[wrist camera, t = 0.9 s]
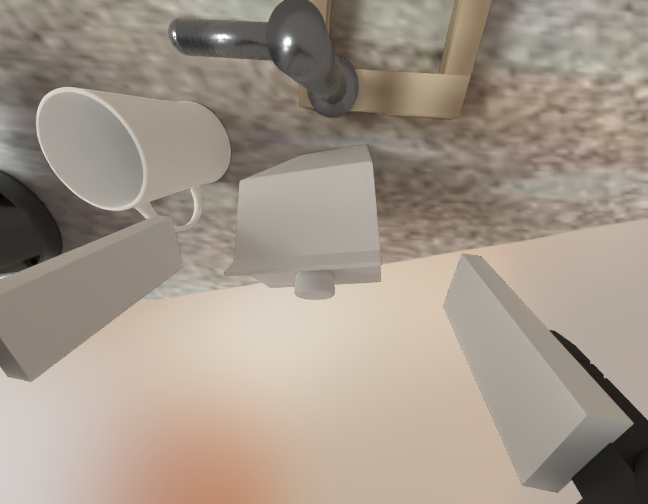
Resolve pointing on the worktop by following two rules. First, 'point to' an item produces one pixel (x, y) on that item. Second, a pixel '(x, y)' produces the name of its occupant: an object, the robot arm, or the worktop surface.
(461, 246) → the worktop surface
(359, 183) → the milk carton
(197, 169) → the mug
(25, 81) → the worktop surface
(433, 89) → the tan flat frame
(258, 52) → the metal door lever handle
